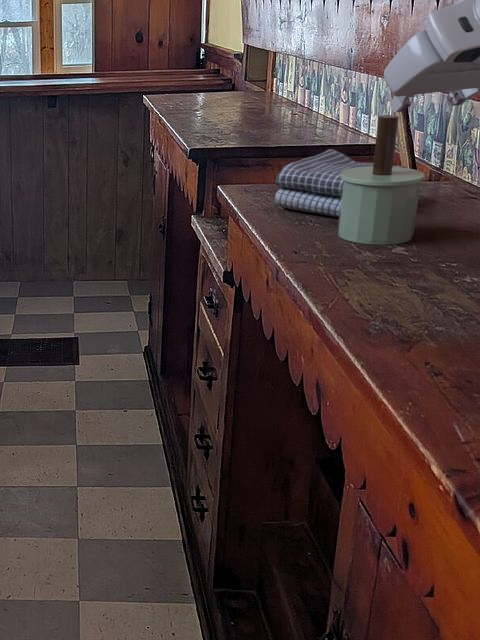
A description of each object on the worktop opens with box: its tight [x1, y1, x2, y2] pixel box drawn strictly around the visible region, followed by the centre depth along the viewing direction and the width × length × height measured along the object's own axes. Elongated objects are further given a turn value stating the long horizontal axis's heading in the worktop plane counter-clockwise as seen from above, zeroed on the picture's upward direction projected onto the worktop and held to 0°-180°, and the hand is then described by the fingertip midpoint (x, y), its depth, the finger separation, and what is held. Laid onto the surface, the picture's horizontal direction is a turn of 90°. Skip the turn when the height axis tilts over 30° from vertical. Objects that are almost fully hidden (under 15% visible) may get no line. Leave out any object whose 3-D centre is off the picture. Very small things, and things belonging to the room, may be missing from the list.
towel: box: [273, 148, 407, 218], centre depth 143 cm, size 15×18×8 cm
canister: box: [337, 180, 422, 246], centre depth 126 cm, size 10×10×8 cm
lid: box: [340, 114, 426, 186], centre depth 123 cm, size 11×11×9 cm
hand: (424, 104), depth 116 cm, fingers open, 8 cm apart
